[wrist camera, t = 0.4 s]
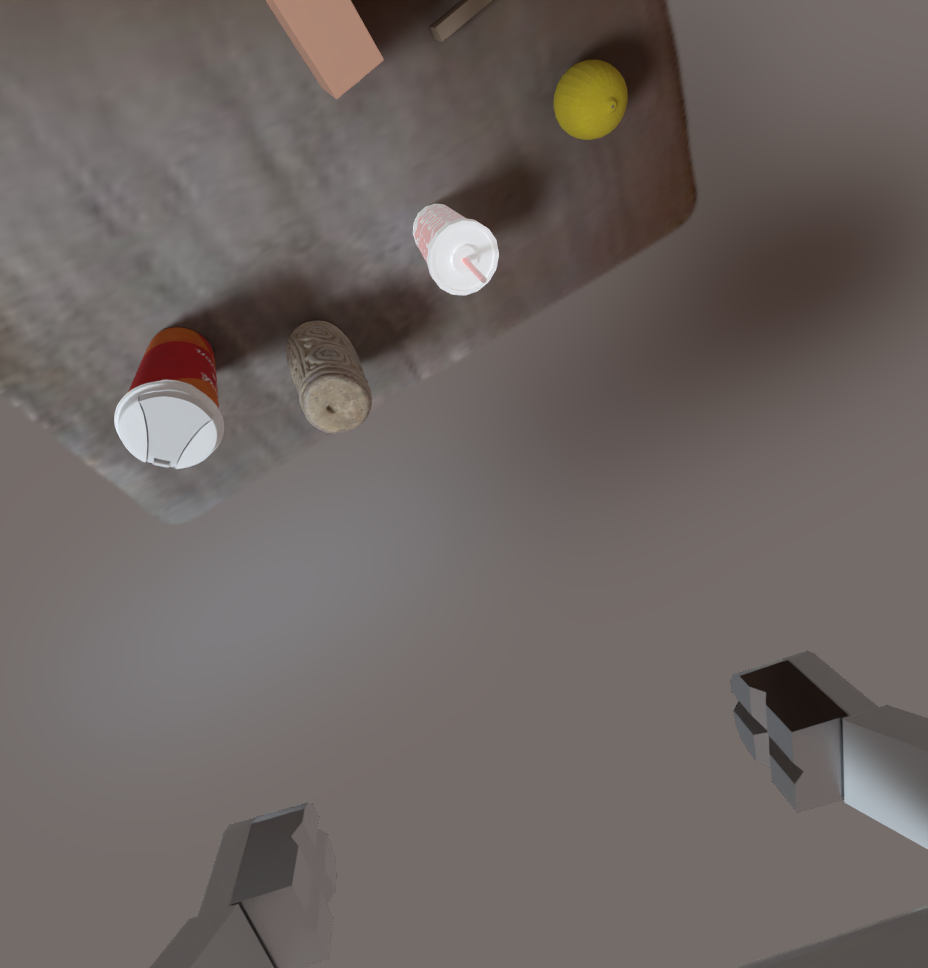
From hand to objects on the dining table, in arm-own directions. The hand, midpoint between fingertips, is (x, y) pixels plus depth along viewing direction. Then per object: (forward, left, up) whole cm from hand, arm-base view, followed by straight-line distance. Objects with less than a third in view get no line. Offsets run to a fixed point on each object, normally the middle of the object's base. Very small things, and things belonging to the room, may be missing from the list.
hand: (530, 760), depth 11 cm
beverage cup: (+12, +5, -51) cm, 53 cm away
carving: (+10, -11, -51) cm, 53 cm away
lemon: (+14, +21, -51) cm, 57 cm away
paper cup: (0, -19, -51) cm, 55 cm away
